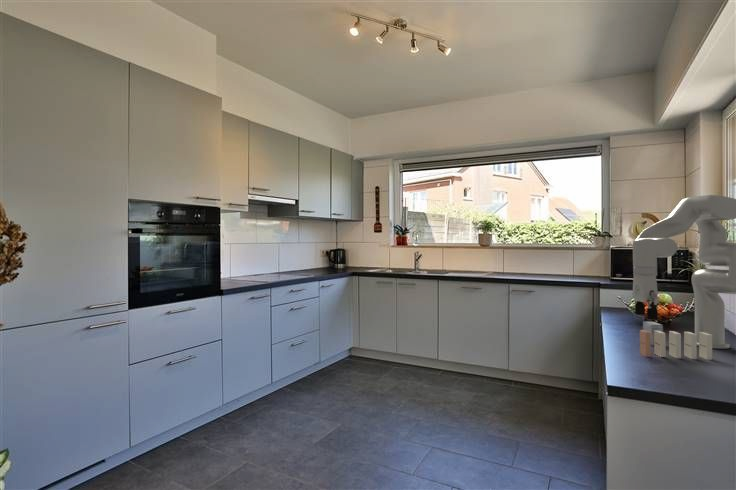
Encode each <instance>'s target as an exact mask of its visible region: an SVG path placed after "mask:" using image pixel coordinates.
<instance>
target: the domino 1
mask: <svg viewBox="0 0 736 490" xmlns="http://www.w3.org/2000/svg"><path fill="white" fill-rule="evenodd" d="M651 351H652V350H651V344H650V332H648V331H645V330H643V329H640V330H639V354H640V355H641V356H643V357H645V356H646V357H645V358H647V357H648V358H651V356H652V355H651Z"/></svg>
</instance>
